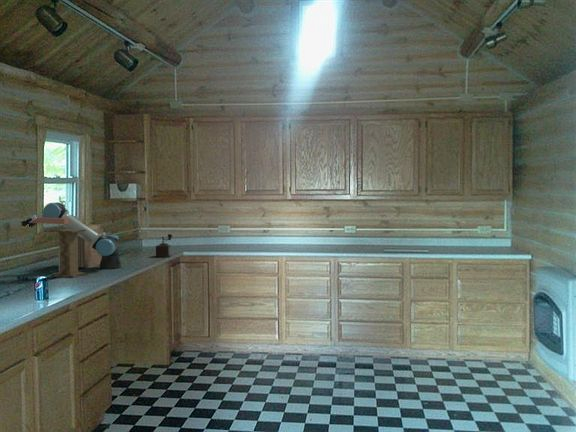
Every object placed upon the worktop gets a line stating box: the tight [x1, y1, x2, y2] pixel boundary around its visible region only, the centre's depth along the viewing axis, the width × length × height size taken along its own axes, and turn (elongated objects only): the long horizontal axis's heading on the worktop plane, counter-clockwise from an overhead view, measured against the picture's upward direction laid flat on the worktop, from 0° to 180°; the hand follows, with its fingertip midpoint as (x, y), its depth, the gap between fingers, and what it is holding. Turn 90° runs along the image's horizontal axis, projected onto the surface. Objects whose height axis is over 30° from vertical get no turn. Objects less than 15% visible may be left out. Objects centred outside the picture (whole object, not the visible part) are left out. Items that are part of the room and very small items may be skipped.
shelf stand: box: [50, 228, 87, 279], centre depth 378 cm, size 17×13×30 cm
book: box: [78, 223, 104, 269], centre depth 422 cm, size 25×9×30 cm, turn 167°
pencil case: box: [27, 217, 69, 225], centre depth 382 cm, size 30×4×4 cm, turn 72°
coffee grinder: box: [155, 233, 173, 258], centre depth 477 cm, size 16×11×18 cm
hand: (38, 216), depth 384 cm, fingers closed on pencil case, 4 cm apart
